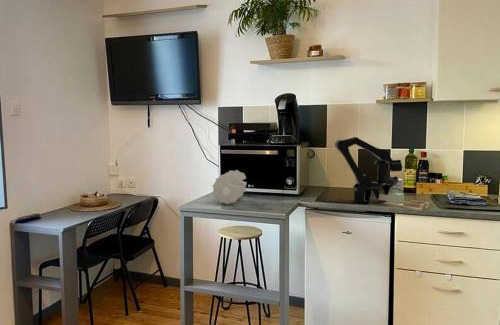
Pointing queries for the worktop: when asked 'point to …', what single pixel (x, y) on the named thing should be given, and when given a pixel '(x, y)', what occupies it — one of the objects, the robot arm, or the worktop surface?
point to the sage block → (392, 197)
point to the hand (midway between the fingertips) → (382, 198)
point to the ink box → (397, 187)
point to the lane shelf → (410, 205)
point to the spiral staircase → (229, 187)
